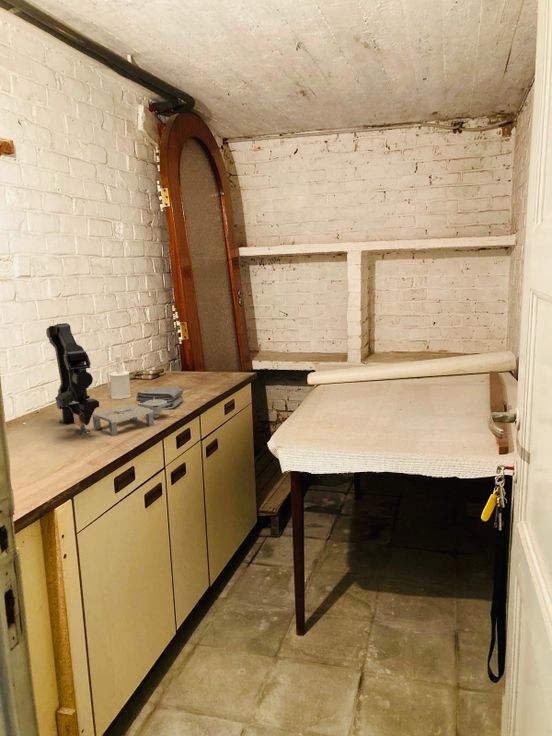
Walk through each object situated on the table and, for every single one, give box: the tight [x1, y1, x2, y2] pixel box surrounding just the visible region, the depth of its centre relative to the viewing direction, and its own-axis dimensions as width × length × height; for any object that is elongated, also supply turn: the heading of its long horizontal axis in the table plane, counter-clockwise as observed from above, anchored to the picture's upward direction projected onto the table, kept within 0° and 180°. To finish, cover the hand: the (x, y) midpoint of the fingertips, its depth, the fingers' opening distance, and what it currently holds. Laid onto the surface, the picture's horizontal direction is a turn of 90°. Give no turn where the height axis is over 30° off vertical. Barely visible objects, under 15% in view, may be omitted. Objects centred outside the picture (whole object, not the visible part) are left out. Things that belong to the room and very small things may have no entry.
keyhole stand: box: [92, 403, 155, 437], centre depth 220 cm, size 14×18×6 cm
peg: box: [73, 412, 91, 435], centre depth 214 cm, size 4×4×8 cm
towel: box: [135, 386, 184, 410], centre depth 251 cm, size 15×18×8 cm
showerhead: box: [143, 398, 167, 419], centre depth 232 cm, size 9×7×10 cm
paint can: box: [106, 354, 132, 400], centre depth 267 cm, size 10×9×20 cm
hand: (82, 423), depth 214 cm, fingers open, 7 cm apart
